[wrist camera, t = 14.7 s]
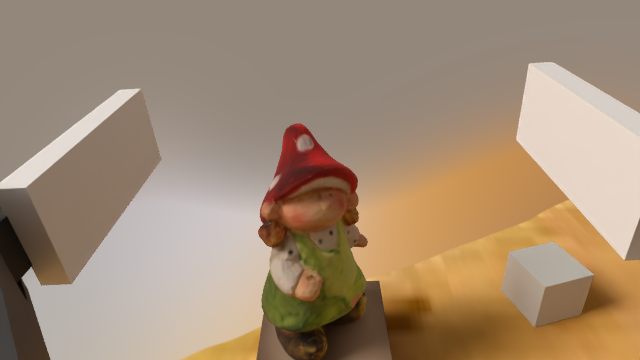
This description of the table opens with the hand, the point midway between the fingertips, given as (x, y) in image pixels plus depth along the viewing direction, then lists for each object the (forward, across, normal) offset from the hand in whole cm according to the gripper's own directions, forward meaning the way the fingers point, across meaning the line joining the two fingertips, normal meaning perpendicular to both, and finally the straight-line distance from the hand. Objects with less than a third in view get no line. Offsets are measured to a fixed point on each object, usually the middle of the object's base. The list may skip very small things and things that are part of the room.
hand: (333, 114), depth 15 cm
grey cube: (+23, +22, -34) cm, 47 cm away
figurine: (+15, -2, -28) cm, 31 cm away
